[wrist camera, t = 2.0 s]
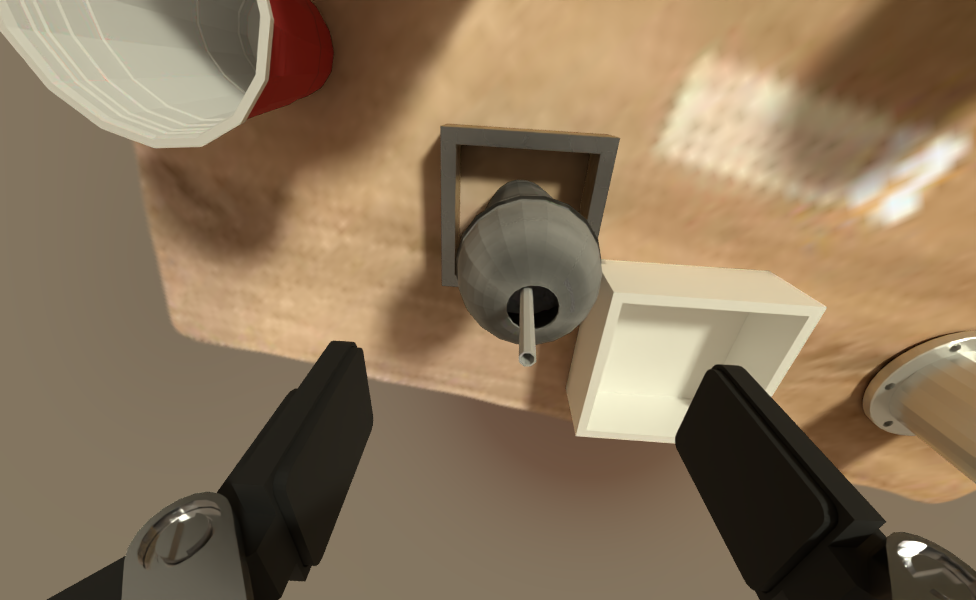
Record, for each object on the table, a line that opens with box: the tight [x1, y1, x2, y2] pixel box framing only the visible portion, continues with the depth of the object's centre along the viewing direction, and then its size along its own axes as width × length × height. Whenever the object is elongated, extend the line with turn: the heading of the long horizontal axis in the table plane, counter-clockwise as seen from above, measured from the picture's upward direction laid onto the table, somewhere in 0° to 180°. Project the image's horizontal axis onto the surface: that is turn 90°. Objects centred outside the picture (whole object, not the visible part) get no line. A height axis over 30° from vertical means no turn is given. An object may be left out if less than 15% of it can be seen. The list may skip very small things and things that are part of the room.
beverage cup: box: [456, 180, 602, 366], centre depth 19 cm, size 7×7×20 cm
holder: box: [441, 124, 620, 287], centre depth 26 cm, size 11×11×3 cm
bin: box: [566, 259, 827, 443], centre depth 30 cm, size 15×15×6 cm
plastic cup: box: [0, 0, 334, 148], centre depth 18 cm, size 11×11×12 cm
